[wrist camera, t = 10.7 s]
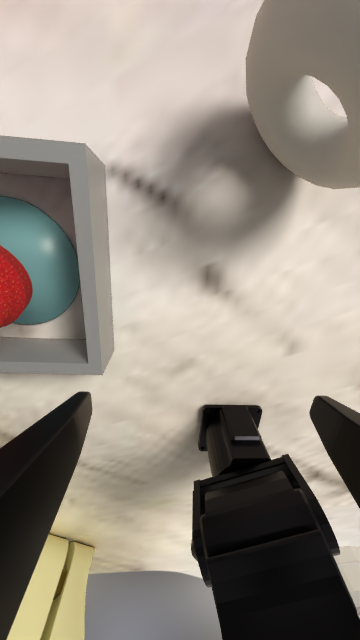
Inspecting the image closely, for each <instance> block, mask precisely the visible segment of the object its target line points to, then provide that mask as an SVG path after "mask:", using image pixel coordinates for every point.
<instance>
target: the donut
mask: <svg viewBox="0 0 360 640" xmlns="http://www.w3.org/2000/svg"><path fill="white" fill-rule="evenodd" d="M313 77H315V78H316V79H318V80H320V81H321V82H323V83H324V84H326V85H327V86H328V87H329V88H330V89H331V90H332V91H333V92H334V94H335V95H336V96H337V97H338V98H339V100H340V102H341V104H342V106H343V108H344V110H345V113H346V115H347V118H346V117H342V116H339V115H338V114H336V113H335V112H333V111H332V110H330V109H329V108H328V107H327V106H326V104H325V103H324V102H323V101H322V100H321V98H320V96H319V94H318V92H317V90H316V88H315V85H314V81H313ZM246 94H247V98H248V102H249V107H250V111H251V115H252V117H253V120H254V122H255V124H256V126H257V129H258V131H259V133H260V135H261V137H262V139H263V140H264V142H265V143H266V145H267V146H268V148H269V149H270V151H271V152H272V154H273V155H274V156H275V157H276V158H277V159H278V160H279V161H280V162H281V163H282V164H283V165H284V166H285V167H286V168H287V169H289V170H290V171H292V172H293V173H294V174H296V175H297V176H298V177H300V178H302V179H304V180H306V181H308V182H311V183H313V184H315V185H317V186H322V187H327V188H331V189H342V188H355V187H360V0H264V2H263V4H262V6H261V8H260V10H259V12H258V13H257V16H256V19H255V23H254V27H253V31H252V35H251V39H250V43H249V48H248V52H247V56H246Z"/></svg>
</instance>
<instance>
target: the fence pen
mask: <svg viewBox="0 0 360 640" xmlns="http://www.w3.org/2000/svg"><path fill="white" fill-rule="evenodd" d="M0 173H10V174H22V175H34V176H46V177H58V178H70V184H71V194H72V204H73V214H74V224H75V234H76V244H77V254H78V259H77V256H76V253H75V250H74V248H73V246H72V244H71V242H70V240H69V239H68V237H67V235H66V234H65V233H64V231H63V230H62V229H61V228H60V226H59V225H58V224H57V223H56V222H55V221H54V220H53V219H52V218H50V217H49V216H48V215H47V214H45V213H44V212H43V211H41V210H40V209H38V208H36V207H35V206H33V205H31V204H29V203H26V202H24V201H21V200H18V199H14V198H10V197H4V196H0V245H1V246H2V247H4V248H5V249H7V250H8V251H9V252H10V253H11V254H13V255H14V256H15V257H16V258H17V259H18V260H19V261H20V263H21V264H22V265H23V266H24V268H25V269H26V271H27V272H28V274H29V277H30V279H31V282H32V288H33V292H32V298H31V300H30V302H29V304H28V305H27V307H26V308H25V310H24V311H23V312H22V314H21V315H20V316H19V317H18V318H17V319H16V320H15V321H14V322H13V323H18V324H38V323H43V322H46V321H49V320H51V319H54V318H55V317H57V316H59V315H60V314H61V313H63V312H64V311H65V310H66V309H67V308H68V307H69V306H70V305H71V303H72V301H73V300H74V298H75V296H76V294H77V291H78V287H79V280H80V284H81V294H82V304H83V314H84V324H85V334H86V340H72V339H42V338H11V337H0V373H36V374H81V375H103V373H104V371H105V369H106V367H107V365H108V362H109V360H110V358H111V356H112V354H113V352H114V337H113V317H112V297H111V277H110V257H109V238H108V218H107V198H106V178H105V165H104V164H103V163H102V162H101V160H100V159H99V158H98V157H97V156H96V155H95V154H94V153H93V152H92V151H91V149H90V148H89V147H88V146H87V145H86V144H85V143H74V142H64V141H53V140H42V139H32V138H21V137H10V136H0Z"/></svg>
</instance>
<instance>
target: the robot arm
mask: <svg viewBox="0 0 360 640" xmlns="http://www.w3.org/2000/svg"><path fill="white" fill-rule="evenodd" d="M207 409H209V410H207ZM256 410H257V411H256ZM91 415H92V401H91V394H90V392H78V393H76V394H75V395H73V396H72V397H71V398H69V399H68V400H66V401H65V402H64V403H62V404H61V405H60V406H58V407H57V408H55V409H54V410H53V411H51V412H50V413H48V414H47V415H46V416H44V417H43V418H42V419H40V420H39V421H37V422H36V423H35V424H33V425H32V426H30V427H29V428H28V429H26V430H25V431H24V432H22V433H21V434H19V435H18V436H17V437H15V438H14V439H13V440H11V441H10V442H8V443H7V444H6V445H4V446H3V447H1V448H0V640H7V637H8V635H9V632H10V630H11V627H12V625H13V622H14V620H15V617H16V615H17V612H18V610H19V607H20V605H21V602H22V600H23V597H24V595H25V592H26V590H27V587H28V585H29V582H30V580H31V577H32V575H33V572H34V570H35V567H36V565H37V562H38V560H39V557H40V555H41V552H42V550H43V547H44V545H45V542H46V540H47V537H48V535H49V532H50V530H51V527H52V525H53V522H54V520H55V517H56V515H57V512H58V510H59V507H60V505H61V502H62V500H63V497H64V495H65V492H66V490H67V487H68V485H69V482H70V480H71V477H72V475H73V472H74V470H75V467H76V465H77V462H78V459H79V457H80V454H81V450H82V447H83V444H84V440H85V436H86V433H87V429H88V426H89V422H90V419H91ZM261 415H262V409H261V407H260V406H257V405H205V406H204V407H203V411H202V419H201V427H200V435H199V443H198V447H199V450H200V451H208V456H209V462H210V467H211V473H212V477H211V478H207V479H204V480H196V481H194V491H193V523H192V543H191V551H192V555H193V557H194V558H195V559H196V560H197V561H198V563H199V567H200V570H201V574H202V577H203V580H204V582H205V584H206V586H207V587H212V591H213V595H214V600H215V604H216V609H217V613H218V618H219V622H220V627H221V633H222V639H223V640H360V618H359V616H358V614H357V609H356V607H355V604H354V602H353V599H352V597H351V595H350V593H349V590H348V588H347V586H346V584H345V581H344V579H343V577H342V575H341V572H340V570H339V568H338V566H337V563H336V561H335V559H334V557H333V556H337V555H340V549H339V546H338V543H337V540H336V537H335V535H334V533H333V530H332V528H331V526H330V524H329V522H328V520H327V517H326V515H325V513H324V511H323V510H322V508H321V506H320V504H319V502H318V500H317V499H316V497H315V495H314V494H313V492H312V490H311V489H310V487H309V486H308V484H307V483H306V481H305V480H304V478H303V477H302V475H301V474H300V472H299V470H298V469H297V467H296V466H295V464H294V463H293V461H292V460H291V458H290V457H289V455H288V454H286V455H282V457H280V458H276V459H273V460H271V458H270V456H269V454H268V452H267V450H266V447H265V445H264V443H263V441H262V439H261V436H260V433H259V431H258V427H259V423H260V419H261ZM310 417H311V420H312V422H313V424H314V426H315V428H316V430H317V432H318V434H319V436H320V439H321V441H322V443H323V445H324V447H325V449H326V451H327V453H328V455H329V457H330V459H331V460H332V462H333V464H334V465H335V467H336V469H337V471H338V472H339V474H340V476H341V477H342V479H343V481H344V483H345V484H346V486H347V488H348V489H349V491H350V493H351V494H352V496H353V498H354V500H355V501H356V503H357V505H358V506H359V508H360V413H358V412H356V411H354V410H352V409H350V408H349V407H347V406H345V405H343V404H341V403H339V402H337V401H335V400H334V399H332V398H330V397H328V396H316V397H315V398H314V400H313V403H312V406H311V409H310Z"/></svg>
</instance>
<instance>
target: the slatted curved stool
mask: <svg viewBox="0 0 360 640" xmlns="http://www.w3.org/2000/svg"><path fill="white" fill-rule="evenodd" d="M94 551H95V548H93V547H90V546H86V545H83V544H80V543H76V542H71V543H70V544H69V545H68V540H66V539H63V538H60V537H56V536H53V535H50V534H49V535H48V537H47V540H46V542H45V545H44V547H43V550H42V552H41V555H40V557H39V560H38V562H37V565H36V567H35V570H34V572H33V575H32V577H31V580H30V582H29V585H28V587H27V590H26V592H25V595H24V597H23V600H22V602H21V605H20V607H19V610H18V612H17V615H16V617H15V620H14V622H13V625H12V627H11V630H10V632H9V635H8V637H7V640H84V637H85V629H84V618H85V597H86V596H85V595H86V586H87V578H88V573H89V569H90V565H91V561H92V557H93V554H94Z"/></svg>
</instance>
